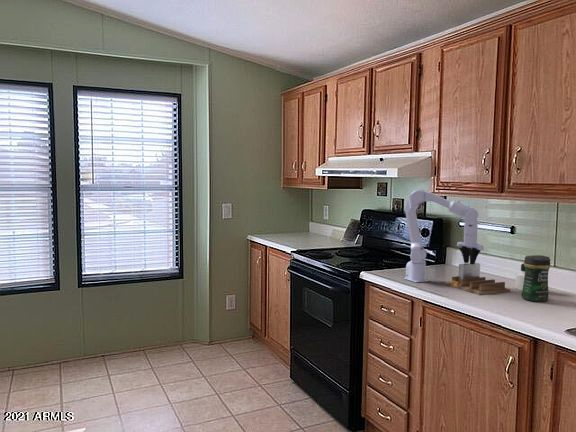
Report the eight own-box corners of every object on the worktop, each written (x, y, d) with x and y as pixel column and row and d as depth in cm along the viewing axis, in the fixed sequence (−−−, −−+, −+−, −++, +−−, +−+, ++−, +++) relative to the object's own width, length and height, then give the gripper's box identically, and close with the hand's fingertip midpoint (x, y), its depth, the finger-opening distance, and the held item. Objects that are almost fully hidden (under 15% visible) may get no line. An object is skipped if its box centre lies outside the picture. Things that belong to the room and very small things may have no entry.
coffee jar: (531, 302, 195) (534, 257, 194) (518, 298, 203) (520, 254, 202) (552, 301, 198) (554, 256, 196) (538, 297, 205) (540, 253, 204)
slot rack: (446, 285, 226) (446, 276, 226) (476, 282, 233) (476, 274, 233) (479, 294, 208) (479, 285, 208) (509, 291, 215) (510, 282, 215)
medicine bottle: (526, 292, 214) (527, 265, 213) (514, 288, 220) (516, 262, 219) (539, 291, 215) (541, 264, 214) (528, 287, 222) (529, 262, 221)
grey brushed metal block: (458, 283, 225) (458, 264, 224) (474, 281, 229) (475, 262, 228) (462, 284, 222) (463, 265, 222) (479, 282, 226) (480, 263, 226)
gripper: (489, 235, 219) (487, 265, 220) (465, 232, 232) (464, 260, 233) (477, 236, 216) (476, 266, 217) (454, 232, 229) (453, 261, 230)
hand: (469, 263), depth 225 cm, fingers open, 3 cm apart
